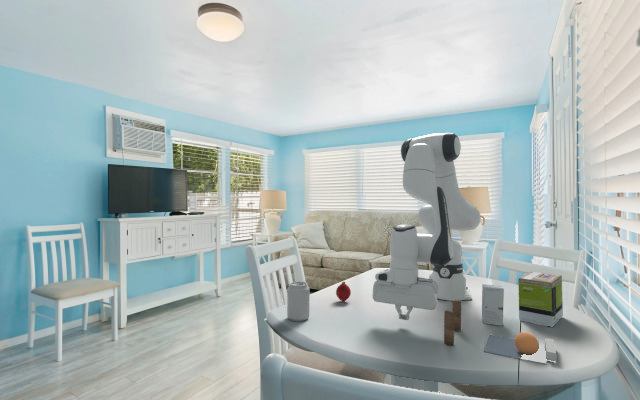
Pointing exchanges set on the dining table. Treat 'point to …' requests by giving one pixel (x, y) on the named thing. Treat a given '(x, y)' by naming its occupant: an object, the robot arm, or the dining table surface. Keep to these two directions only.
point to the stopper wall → (550, 349)
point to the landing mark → (502, 346)
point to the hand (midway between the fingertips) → (404, 319)
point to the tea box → (540, 298)
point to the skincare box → (492, 304)
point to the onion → (343, 292)
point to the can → (298, 301)
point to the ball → (526, 343)
